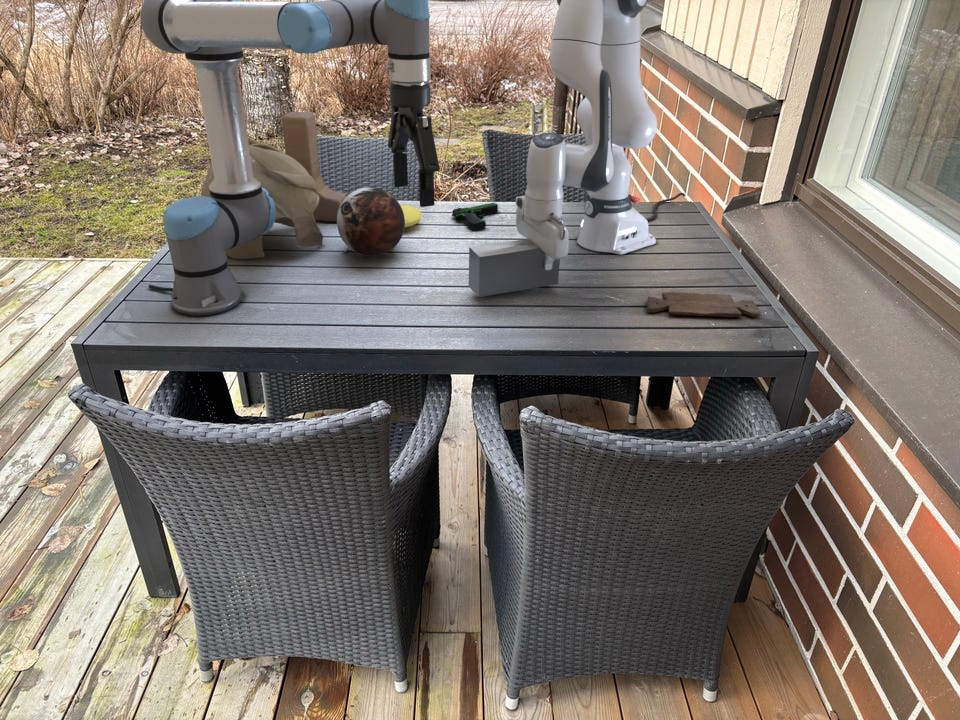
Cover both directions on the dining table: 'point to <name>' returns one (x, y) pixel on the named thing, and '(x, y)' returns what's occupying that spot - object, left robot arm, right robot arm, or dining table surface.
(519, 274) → the box
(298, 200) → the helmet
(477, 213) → the handgun
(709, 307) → the dark wooden board
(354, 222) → the marbled brown ball
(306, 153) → the decorative block
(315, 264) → the dining table surface
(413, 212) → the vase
